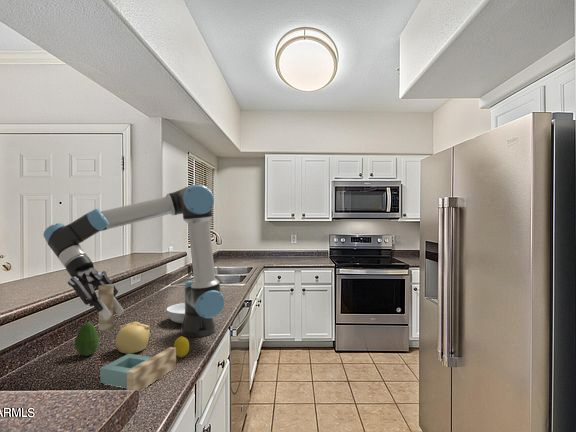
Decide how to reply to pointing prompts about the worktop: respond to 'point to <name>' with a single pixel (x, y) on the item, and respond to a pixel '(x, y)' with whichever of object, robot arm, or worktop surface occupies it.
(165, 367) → the oak wall
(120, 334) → the sculpture
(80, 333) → the avocado
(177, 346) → the lemon
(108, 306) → the dowel
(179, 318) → the serving bowl
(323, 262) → the worktop surface
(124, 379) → the socket block
